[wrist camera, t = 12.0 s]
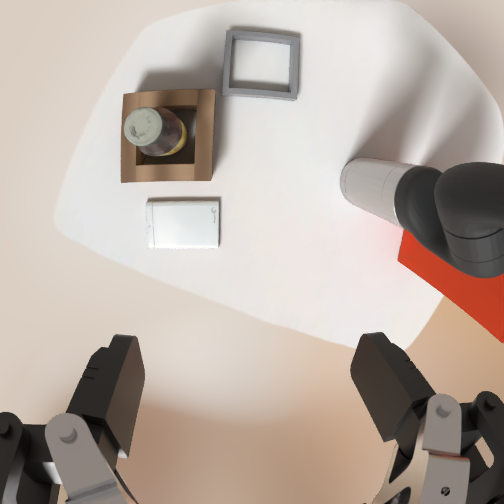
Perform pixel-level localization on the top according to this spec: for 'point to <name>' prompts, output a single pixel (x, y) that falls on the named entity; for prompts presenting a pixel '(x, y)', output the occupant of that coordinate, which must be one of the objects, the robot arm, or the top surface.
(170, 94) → the holder
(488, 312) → the file binder
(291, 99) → the square frame
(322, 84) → the top surface
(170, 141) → the sauce bottle
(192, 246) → the hard drive
